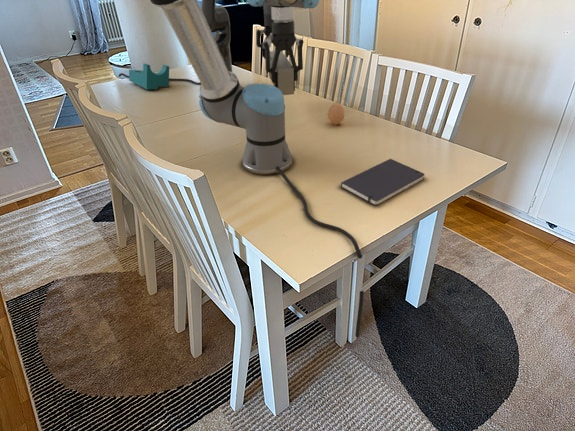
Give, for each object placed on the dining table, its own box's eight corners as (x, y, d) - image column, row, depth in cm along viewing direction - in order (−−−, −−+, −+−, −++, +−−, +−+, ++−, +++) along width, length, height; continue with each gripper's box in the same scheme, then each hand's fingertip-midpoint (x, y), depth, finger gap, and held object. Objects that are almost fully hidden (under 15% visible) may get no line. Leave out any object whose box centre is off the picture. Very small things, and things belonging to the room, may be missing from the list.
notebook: (389, 163, 124) (340, 187, 113) (390, 158, 123) (341, 182, 112) (424, 178, 116) (375, 206, 105) (425, 174, 115) (376, 201, 104)
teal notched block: (168, 89, 190) (169, 66, 185) (146, 89, 182) (147, 65, 178) (150, 81, 201) (150, 59, 196) (129, 80, 193) (129, 57, 189)
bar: (293, 94, 144) (293, 67, 138) (278, 95, 143) (277, 69, 138) (282, 74, 164) (281, 50, 158) (268, 75, 163) (267, 51, 158)
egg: (332, 128, 146) (333, 107, 141) (324, 122, 150) (325, 101, 146) (346, 125, 148) (348, 104, 143) (338, 119, 152) (339, 99, 148)
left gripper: (291, 8, 151) (292, 53, 160) (253, 10, 149) (256, 56, 158) (295, 11, 145) (295, 58, 154) (255, 14, 143) (259, 61, 152)
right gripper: (307, 16, 136) (307, 85, 150) (253, 20, 134) (258, 89, 147) (313, 20, 130) (312, 91, 144) (256, 24, 128) (260, 96, 141)
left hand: (276, 57), depth 156 cm, fingers open, 8 cm apart
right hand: (284, 90), depth 146 cm, fingers closed on bar, 5 cm apart
